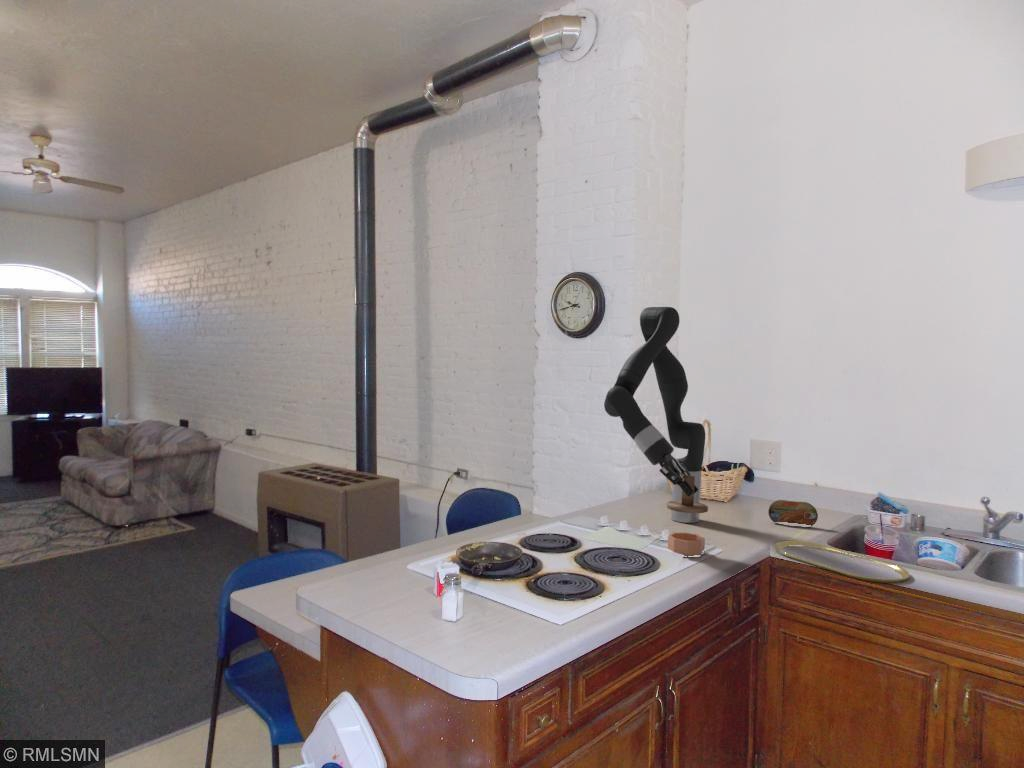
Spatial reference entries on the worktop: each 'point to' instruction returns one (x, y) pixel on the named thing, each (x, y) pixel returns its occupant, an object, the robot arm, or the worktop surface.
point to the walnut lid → (687, 501)
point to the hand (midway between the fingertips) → (693, 493)
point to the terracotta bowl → (686, 543)
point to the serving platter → (786, 543)
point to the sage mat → (618, 538)
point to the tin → (793, 512)
